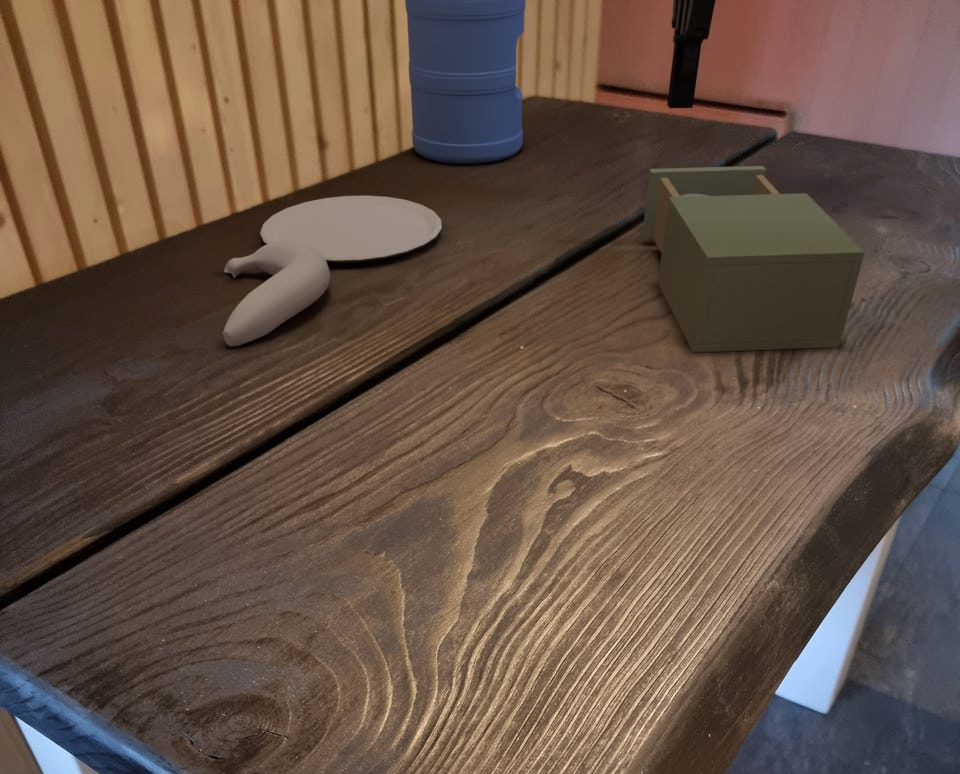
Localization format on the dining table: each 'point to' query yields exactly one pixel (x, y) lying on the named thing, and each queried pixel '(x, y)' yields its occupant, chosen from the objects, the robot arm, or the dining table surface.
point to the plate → (355, 227)
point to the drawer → (697, 190)
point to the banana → (276, 289)
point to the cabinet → (757, 272)
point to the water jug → (465, 79)
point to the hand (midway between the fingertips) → (679, 106)
